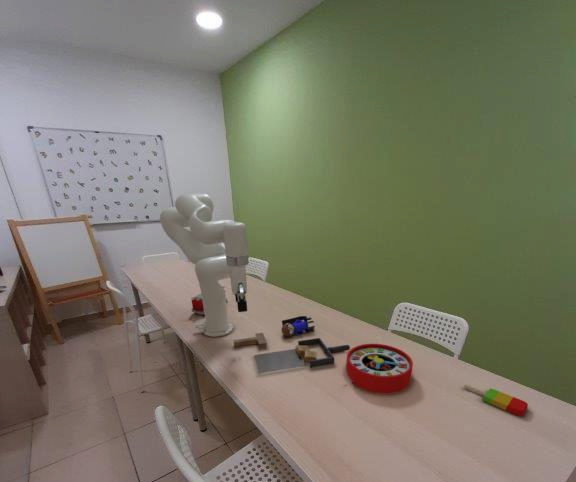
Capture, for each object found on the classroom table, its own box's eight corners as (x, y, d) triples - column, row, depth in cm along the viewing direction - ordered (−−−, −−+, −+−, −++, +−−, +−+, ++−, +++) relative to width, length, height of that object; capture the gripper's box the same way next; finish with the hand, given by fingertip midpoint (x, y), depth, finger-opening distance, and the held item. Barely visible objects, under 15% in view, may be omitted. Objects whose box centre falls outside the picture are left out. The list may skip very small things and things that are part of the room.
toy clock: (352, 340, 106) (412, 348, 100) (351, 354, 109) (410, 363, 102) (341, 370, 89) (413, 382, 83) (340, 386, 91) (410, 399, 85)
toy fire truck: (230, 305, 158) (227, 287, 154) (203, 318, 143) (200, 298, 139) (217, 302, 162) (215, 284, 158) (190, 314, 148) (187, 295, 144)
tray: (259, 375, 98) (259, 373, 98) (254, 357, 109) (254, 355, 108) (306, 368, 101) (306, 365, 101) (296, 351, 112) (296, 348, 112)
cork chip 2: (303, 362, 103) (304, 356, 102) (303, 356, 107) (305, 350, 105) (315, 363, 103) (316, 357, 102) (315, 357, 106) (316, 351, 105)
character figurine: (317, 334, 125) (284, 342, 119) (308, 326, 131) (277, 334, 125) (318, 317, 121) (284, 325, 115) (309, 310, 127) (277, 317, 121)
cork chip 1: (298, 356, 106) (299, 350, 105) (295, 351, 110) (296, 345, 109) (308, 356, 107) (310, 350, 106) (305, 351, 111) (306, 345, 110)
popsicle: (521, 418, 77) (523, 412, 76) (460, 391, 88) (461, 386, 87) (527, 408, 80) (529, 402, 80) (467, 383, 91) (468, 378, 90)
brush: (235, 354, 111) (234, 346, 110) (233, 343, 119) (232, 336, 118) (267, 349, 114) (266, 342, 112) (263, 339, 122) (262, 332, 120)
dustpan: (310, 370, 100) (310, 361, 99) (298, 348, 114) (298, 340, 112) (358, 362, 104) (359, 353, 102) (341, 342, 117) (341, 334, 116)
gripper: (224, 255, 110) (229, 299, 117) (227, 267, 94) (232, 316, 102) (245, 254, 111) (248, 297, 118) (251, 265, 96) (254, 314, 103)
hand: (241, 306), depth 110 cm, fingers open, 9 cm apart
